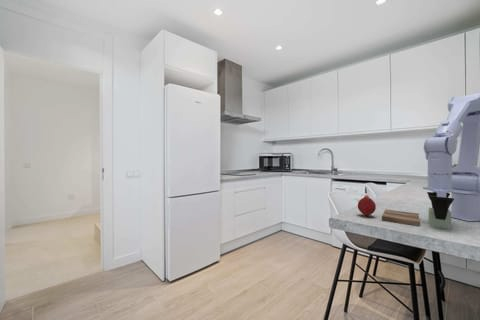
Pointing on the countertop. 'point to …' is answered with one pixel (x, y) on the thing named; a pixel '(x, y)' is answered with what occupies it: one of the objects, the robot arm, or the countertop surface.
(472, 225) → the countertop surface
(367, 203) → the onion
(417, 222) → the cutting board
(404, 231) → the countertop surface
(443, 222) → the cube
